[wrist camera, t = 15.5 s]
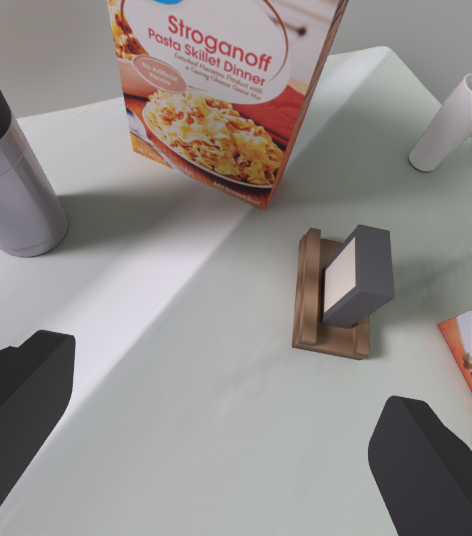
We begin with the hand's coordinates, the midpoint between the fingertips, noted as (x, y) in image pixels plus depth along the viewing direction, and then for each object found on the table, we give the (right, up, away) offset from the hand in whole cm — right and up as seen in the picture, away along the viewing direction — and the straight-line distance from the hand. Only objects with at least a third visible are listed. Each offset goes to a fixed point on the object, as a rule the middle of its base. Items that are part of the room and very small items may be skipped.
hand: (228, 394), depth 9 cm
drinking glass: (+34, +23, +53) cm, 67 cm away
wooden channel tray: (+13, -1, +38) cm, 41 cm away
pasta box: (-4, +20, +46) cm, 51 cm away
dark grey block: (+13, -1, +36) cm, 39 cm away
